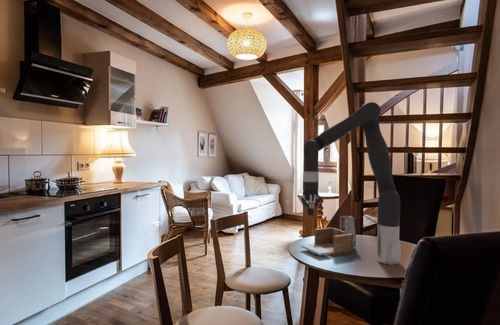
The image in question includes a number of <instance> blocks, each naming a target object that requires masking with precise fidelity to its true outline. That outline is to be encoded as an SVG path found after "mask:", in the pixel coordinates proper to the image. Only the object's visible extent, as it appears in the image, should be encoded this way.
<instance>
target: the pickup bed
mask: <svg viewBox="0 0 500 325" xmlns="http://www.w3.org/2000/svg"><path fill="white" fill-rule="evenodd" d="M313 244H315V245H318V246H320V247H322V248H325V249H327V250H330V251H332V253H331V254H327V255H328V256H331V257H333V258H337V257H338V258H339V257H343V256H348V255H353V253H354V252H353V251H354V249H353V234H351V233H348V232H345V231H342V230H340V228H339V229H338V228H334V227H332V226H331V227H321V228H315V229H314V243H313Z"/></svg>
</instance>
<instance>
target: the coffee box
mask: <svg viewBox="0 0 500 325" xmlns="http://www.w3.org/2000/svg"><path fill="white" fill-rule="evenodd" d="M339 219H340V220H339V230H342V231H345V232H348V233H351V234H353V250H356V249H357V248H356V247H357V218H356V217H354V216H352V215H340V218H339Z"/></svg>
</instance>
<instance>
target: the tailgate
mask: <svg viewBox="0 0 500 325" xmlns="http://www.w3.org/2000/svg"><path fill="white" fill-rule="evenodd" d="M300 247H301V248H303V249H305V250H307V252H309V253H311V254H313V255H318V256H324V255H328V254H331V253H332V251H330V250H327V249H325V248H322V247H320V246H318V245H315V244H314V243H307V244H301V245H300Z"/></svg>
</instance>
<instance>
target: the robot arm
mask: <svg viewBox="0 0 500 325" xmlns="http://www.w3.org/2000/svg"><path fill="white" fill-rule="evenodd" d="M381 112H382V110H381V107H380V105H379V104H378V103H377V102H374V101H369V102H366V103H364V104H362V105H361V107H359V108H358V109H357V110H356V111H355V112H353V113H352V114H350V115H349V116H348V117H347V118H345V119H343V120H341V121H339V122H338V123H335V124H334V125H332V126H331V127H328V128H327V129H325V130H324V131H322V132H321V133H320V134H318V135H317V136H316V137H314V138H312V139H309V140H307V141H305V143H304V145H303V158H304V159H303V160H304V161H303V175H302V191H303V192H302V195H301V196H299V197H298V200H299V201H300V203H301V204H302V206H303V208H306V215H307V216H309V217H313V216H314V208H315V207H316V208H317V206H318V205H319V203H320V202H321V201H322V198H323V196H321V195H320V194H319V181H320V180H319V178H320V177H319V161H318V159H319V152H320V151H321V150H323V149H324V148H325V147H329V146H330V145H332V144H333V143H336V142H337V141H338V140H340V139H342V138H343V137H344V136H346V135H348V133H350V132H352V131H353V130H354V129H355V130H356V128H358V127H360V126H361V127H362V129H363V130H362V131H363V133H364V138H365V145H366V151H367V155H368V156H367V157H368V161H369V165H370V168H371V170H372V174H373V175H374V178H375V180H376V185H377V186H376V187H377V190H378V191H377V193H378V200H377V234H376V235H377V240H376V244H377V246H376V261H377V262H379V263H381V264H385V265H390V266H393V265H399V264H401V252H402V251H401V250H402V248H401V247H402V244H401V242H400V222H401V221H400V220H401V197H400V194H398V191H397V189H396V185H395V181H394V179H393V167H392V160H391V155H390V151H389V147H388V145H387V142H386V140H385V139H384V136H383V134H382V131H381V128H380V122H379V117H380V114H381Z"/></svg>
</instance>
